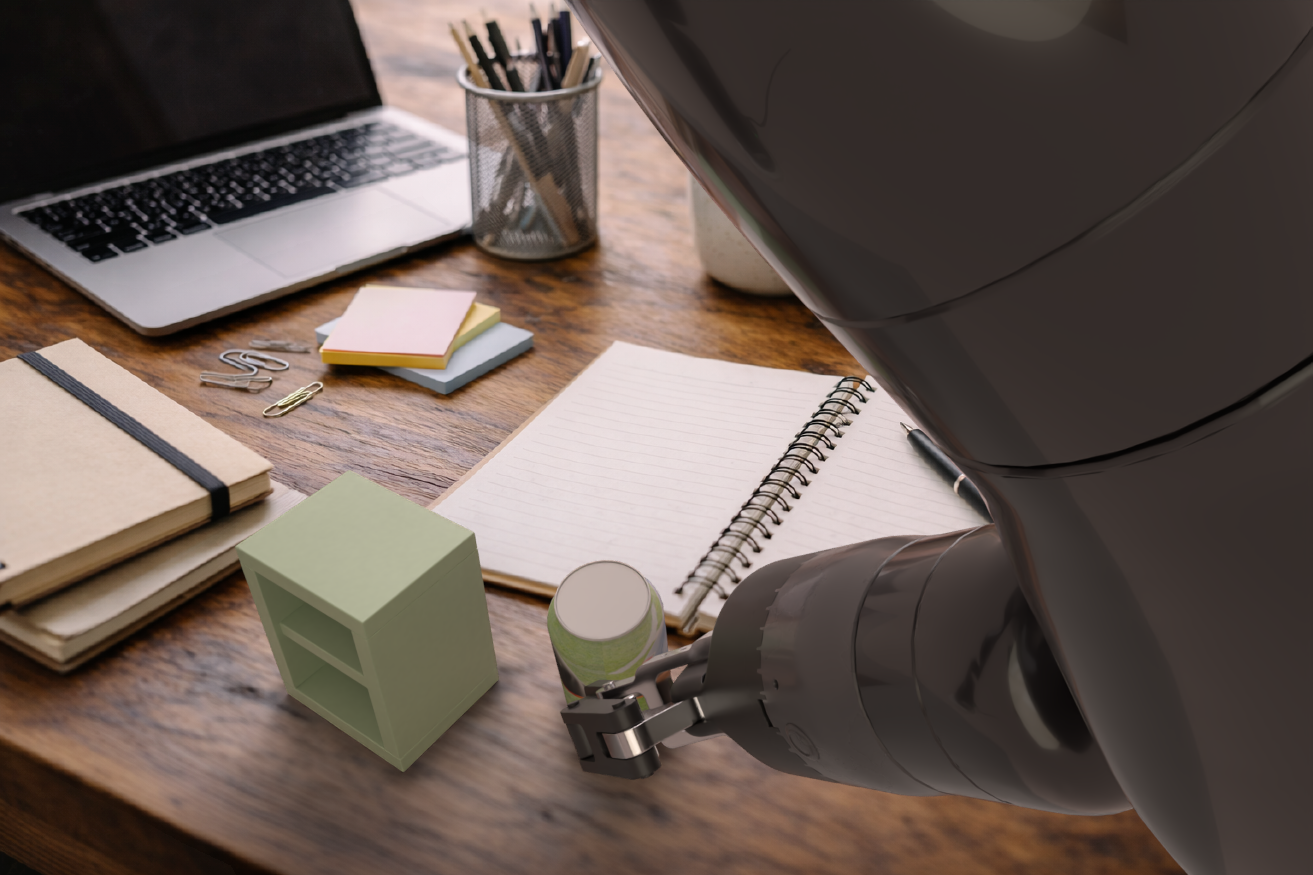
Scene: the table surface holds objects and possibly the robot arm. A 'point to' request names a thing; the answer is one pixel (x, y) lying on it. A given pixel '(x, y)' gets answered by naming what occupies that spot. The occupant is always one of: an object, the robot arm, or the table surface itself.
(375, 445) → the table surface
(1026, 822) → the table surface
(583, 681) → the beverage can
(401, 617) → the shelf
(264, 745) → the table surface
